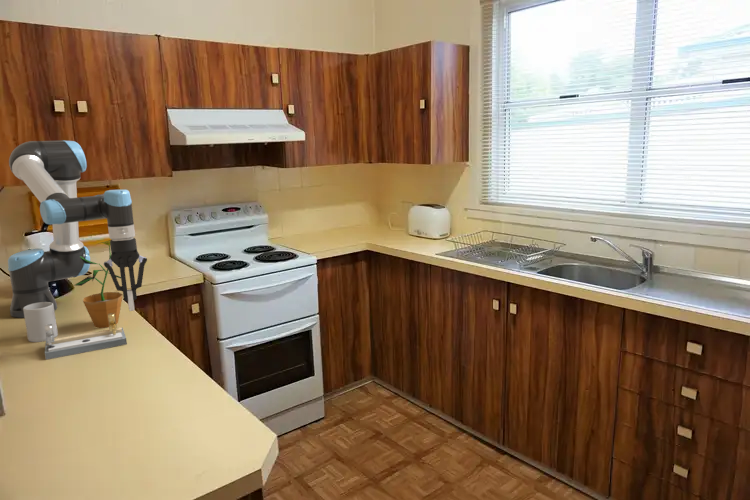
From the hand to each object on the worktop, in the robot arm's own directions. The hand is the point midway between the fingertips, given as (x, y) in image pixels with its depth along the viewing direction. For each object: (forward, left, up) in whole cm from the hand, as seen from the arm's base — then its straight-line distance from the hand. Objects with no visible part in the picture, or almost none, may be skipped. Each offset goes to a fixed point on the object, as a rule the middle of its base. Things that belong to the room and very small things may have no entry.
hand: (131, 309), depth 176 cm
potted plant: (-17, -8, -9) cm, 21 cm away
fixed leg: (+1, -24, -6) cm, 24 cm away
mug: (-16, -26, -9) cm, 32 cm away
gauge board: (+2, -14, -9) cm, 17 cm away
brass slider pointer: (+2, -6, -6) cm, 9 cm away
